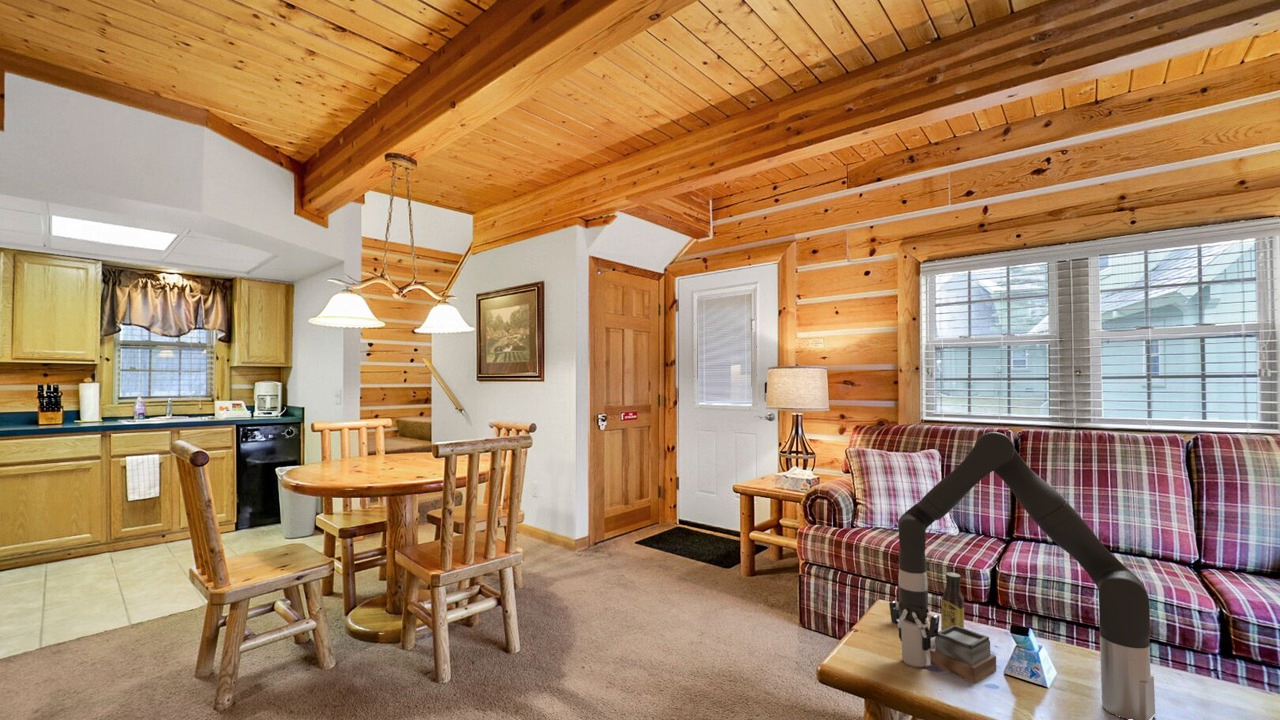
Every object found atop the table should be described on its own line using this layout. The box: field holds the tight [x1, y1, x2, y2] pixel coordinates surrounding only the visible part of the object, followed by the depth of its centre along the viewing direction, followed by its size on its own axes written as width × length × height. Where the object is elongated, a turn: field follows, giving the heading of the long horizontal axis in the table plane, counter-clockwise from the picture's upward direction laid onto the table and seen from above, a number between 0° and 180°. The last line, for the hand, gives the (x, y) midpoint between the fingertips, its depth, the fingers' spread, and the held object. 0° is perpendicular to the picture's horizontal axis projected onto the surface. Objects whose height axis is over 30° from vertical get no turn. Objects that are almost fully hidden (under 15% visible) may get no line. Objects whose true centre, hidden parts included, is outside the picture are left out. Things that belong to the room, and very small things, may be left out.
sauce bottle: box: [940, 572, 965, 631], centre depth 176 cm, size 6×6×20 cm
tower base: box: [929, 625, 997, 684], centre depth 158 cm, size 12×12×9 cm
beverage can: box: [901, 619, 928, 668], centre depth 161 cm, size 6×6×12 cm
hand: (914, 645), depth 160 cm, fingers closed on beverage can, 6 cm apart
